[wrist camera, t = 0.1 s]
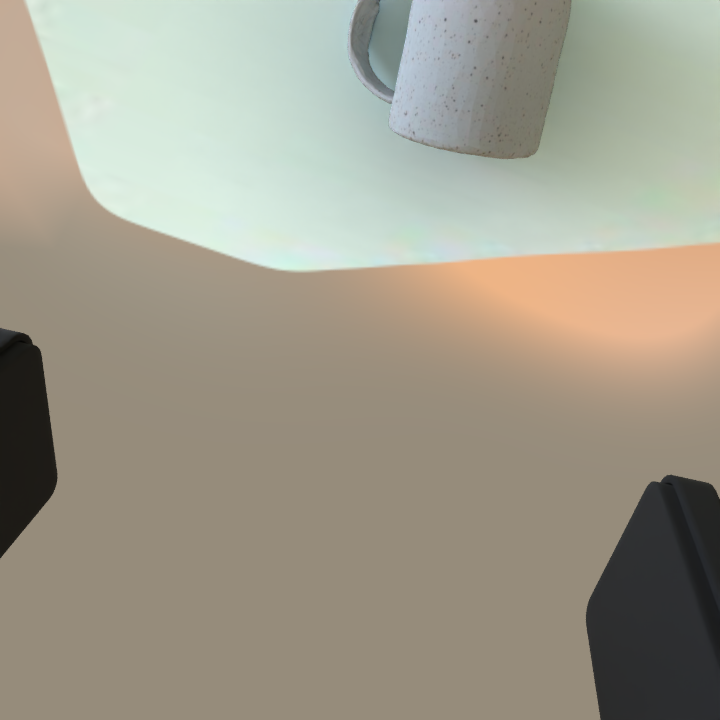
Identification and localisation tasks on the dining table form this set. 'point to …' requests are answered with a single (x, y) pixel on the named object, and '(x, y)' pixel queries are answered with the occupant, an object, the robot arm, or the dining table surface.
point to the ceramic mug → (469, 72)
